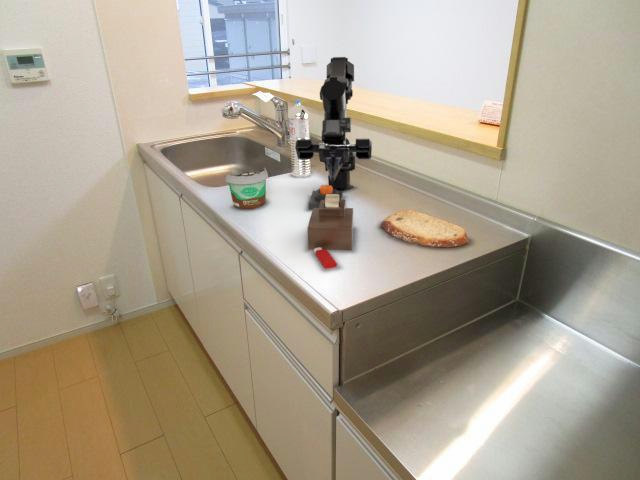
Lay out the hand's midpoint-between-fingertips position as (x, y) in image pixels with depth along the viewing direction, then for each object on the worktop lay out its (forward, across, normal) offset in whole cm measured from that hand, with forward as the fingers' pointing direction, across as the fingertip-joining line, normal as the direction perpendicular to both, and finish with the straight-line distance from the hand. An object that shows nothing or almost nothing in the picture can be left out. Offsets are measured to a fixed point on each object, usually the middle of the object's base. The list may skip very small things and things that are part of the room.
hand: (332, 179), depth 109 cm
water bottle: (-22, -14, +40) cm, 48 cm away
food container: (-1, -24, +19) cm, 31 cm away
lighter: (+22, -1, -3) cm, 22 cm away
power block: (-3, -3, +21) cm, 21 cm away
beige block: (+6, 0, +2) cm, 6 cm away
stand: (+14, 0, +4) cm, 14 cm away
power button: (-5, -3, +19) cm, 20 cm away
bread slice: (+11, +22, +7) cm, 26 cm away
